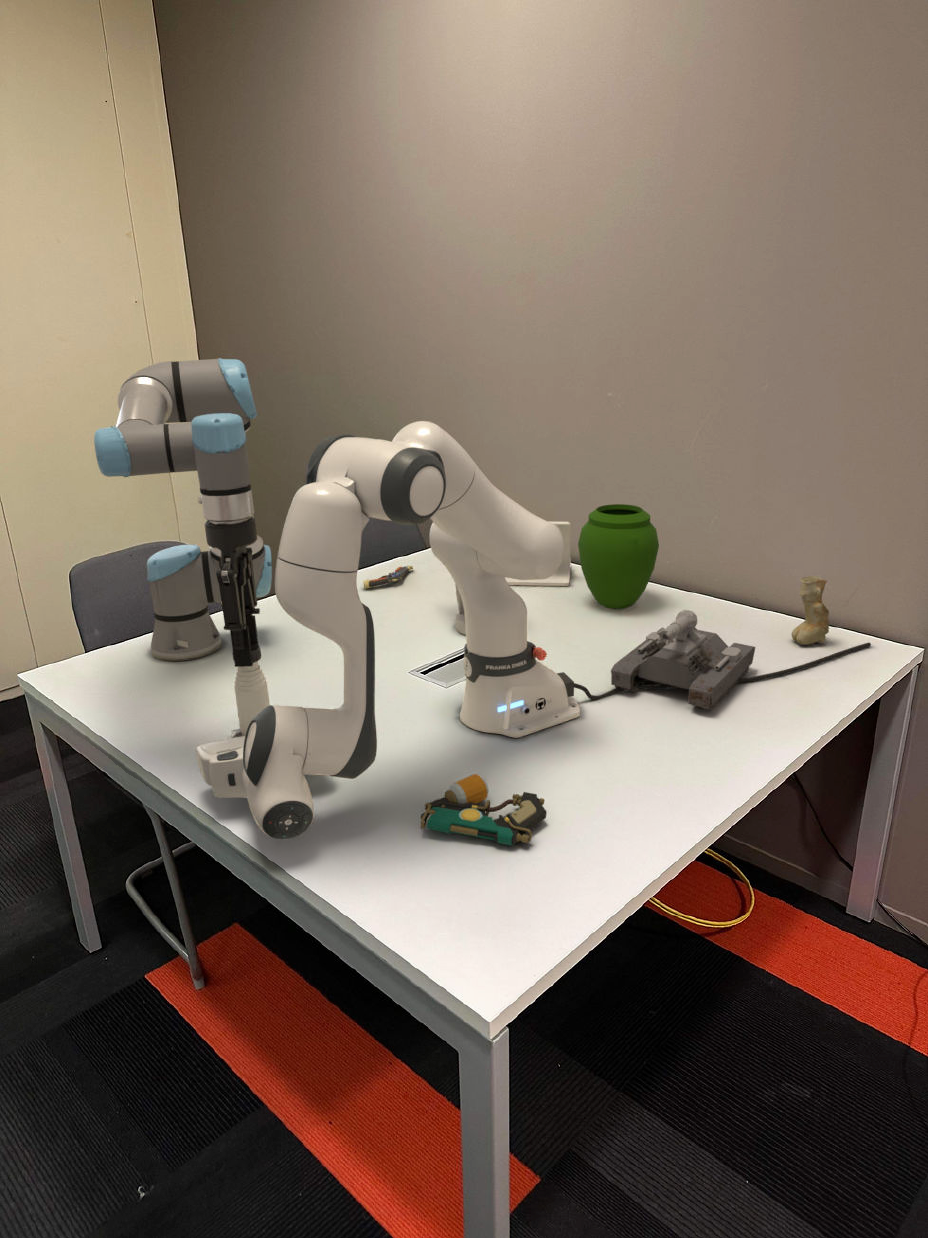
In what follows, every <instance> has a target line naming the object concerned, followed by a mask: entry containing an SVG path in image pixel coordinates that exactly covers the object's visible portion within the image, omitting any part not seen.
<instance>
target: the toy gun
mask: <svg viewBox="0 0 928 1238" xmlns="http://www.w3.org/2000/svg"><path fill="white" fill-rule="evenodd" d="M412 570H414V566H413V565H407V566H406V565H404V566H398V567H397V568H396V569H395V570H394V571H392V572H389V573H388V574H387V575H386V574H385V575H382V576H380V577H378V578H375V579H369V578H368V579H365V580H364V581H363V582H362V583H363V587H364V589H370V588H375V587H378V586H384V585H387V584H389V583H396V582H400V581H401V580H402V579H403V578H405V575H406V574H407V573H409V572H410V571H412Z"/></svg>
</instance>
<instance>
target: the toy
mask: <svg viewBox="0 0 928 1238" xmlns="http://www.w3.org/2000/svg"><path fill="white" fill-rule="evenodd" d="M697 625H698V616H697V614H696V613H695V612H694V611H693V610H690V609H683V610H681V611H679V612H678V613H677V615H676V617H675V620H673V622H671V623H670V624H669V625H668V626H666V628H665V627H661V628H660V629H658V630H657V631H652V632H650V633H649V634H648V635H647V636H645V640H643V641H642V642H641V643H640V644H638V645H637V646H636V647H635V648H633V649H632V650H631V651H630V652H628V653H627V654H625V655H624V656H623V657H621V658H620V659H619V660H618V661H617V662H615V663H614V664H613V666H612V667H611V669H610V674H611V677H610V678H611V680H610V681H611V682H610V683H611V684H610V685H611V686H614V689H615V688H618V687H620V688H622V689H624V691H626V692H630V693H634V692H635V691H637V690H638V689H637V686H638V685H645V683H646V682H648V681H651V682H653V683H658V684H661V685H664V684H666V685H671V686H675V687H679V688H678V689H684V690H688V699H687V700H688V701H687V704H688V705H691V706H693V707H696V708H700V709H704V710H708V711H712V710H713V709H714V708H715V707H716V706H717V705H718V704H719V703H720V701H721V700H723V698H724V697H725V696H726V695H727V694H728V693H729V692H730V691H731V690H732V689H733V688H734V687H735V686H736V685H737V684H738V683H737V682H738V679H740V678H744V677H745V675H746V674H747V673H748V671H749V669H750V667H751V665H752V664H753V662H754V657H755V652H756V646H754V645H748V644H743V643H738V642H733V643H732V644H731V645H730V646H729V645H728V644H727V643H726V642H725V641H724V640H723V639H722V637H721V636H720V635H718V634H717V632H711V631H706V630H702V629H698V628H696V626H697Z"/></svg>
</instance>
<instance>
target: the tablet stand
mask: <svg viewBox="0 0 928 1238" xmlns="http://www.w3.org/2000/svg"><path fill="white" fill-rule="evenodd" d="M549 522H550V523H552V524H554V525H556V526H557V527H558V528H559V530H560V532H561V534H562V536H563V539H564V545H565V550H564V557H563V560H562V563H561V565H560V566H559V568H558V570H557V571H556V572H555V573H554V574H553V575H552V576H551V577H549V578H547V579H541V580H517V579H512V578H507V577H505V579H506V581H507V583H508V584H509V586H541V587H542V586H543V587H544V586H545V587H546V586H547V587H549V586H551V587H556V586H557V587H569V586H570V580H571V579H570V578H571V565H572V564H571V560H572V558H571V522H569V521H549Z"/></svg>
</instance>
